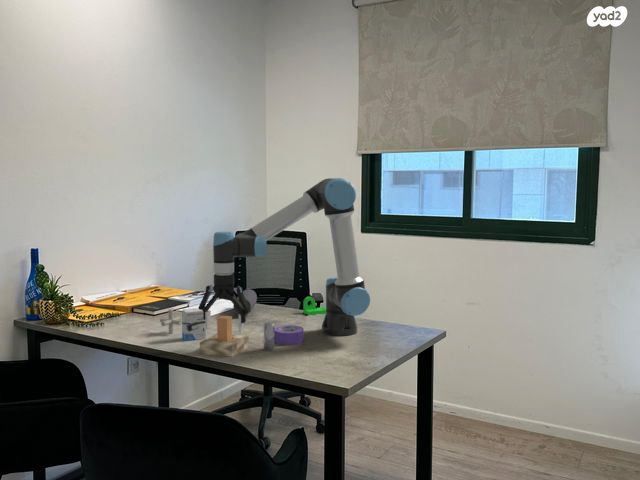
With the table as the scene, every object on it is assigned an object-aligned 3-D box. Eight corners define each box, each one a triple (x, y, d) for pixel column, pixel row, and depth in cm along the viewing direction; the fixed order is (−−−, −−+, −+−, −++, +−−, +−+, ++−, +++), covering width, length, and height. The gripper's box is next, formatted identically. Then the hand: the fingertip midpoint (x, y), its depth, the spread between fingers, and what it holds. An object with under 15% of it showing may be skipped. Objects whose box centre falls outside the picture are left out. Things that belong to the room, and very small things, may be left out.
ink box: (185, 341, 227) (184, 311, 226) (182, 338, 232) (181, 309, 230) (206, 338, 231) (206, 309, 230) (202, 335, 235) (202, 307, 234)
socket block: (248, 346, 221) (248, 336, 221) (232, 356, 208) (232, 345, 207) (217, 343, 225) (217, 333, 224) (199, 353, 212) (199, 342, 211)
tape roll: (292, 346, 221) (292, 334, 221) (267, 342, 227) (267, 329, 227) (309, 339, 231) (309, 327, 231) (285, 335, 237) (285, 323, 237)
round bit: (275, 348, 219) (275, 322, 217) (272, 351, 215) (272, 325, 213) (265, 347, 219) (265, 321, 218) (262, 350, 216) (262, 324, 214)
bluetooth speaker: (252, 318, 266) (252, 297, 265) (232, 318, 267) (232, 296, 266) (258, 307, 289) (258, 288, 288) (239, 307, 289) (239, 287, 288)
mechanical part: (308, 315, 273) (308, 299, 272) (303, 313, 278) (303, 297, 277) (331, 313, 278) (331, 297, 277) (325, 311, 283) (325, 295, 283)
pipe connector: (188, 331, 241) (188, 308, 240) (173, 337, 232) (172, 313, 231) (169, 329, 246) (169, 306, 245) (153, 334, 237) (152, 310, 236)
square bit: (232, 347, 217) (231, 316, 216) (227, 350, 214) (227, 318, 212) (222, 346, 219) (222, 315, 217) (217, 349, 215) (217, 317, 214)
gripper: (259, 273, 213) (259, 330, 215) (198, 270, 221) (199, 324, 223) (250, 277, 206) (251, 335, 208) (188, 273, 214) (189, 329, 216)
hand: (224, 330), depth 216 cm, fingers open, 13 cm apart
